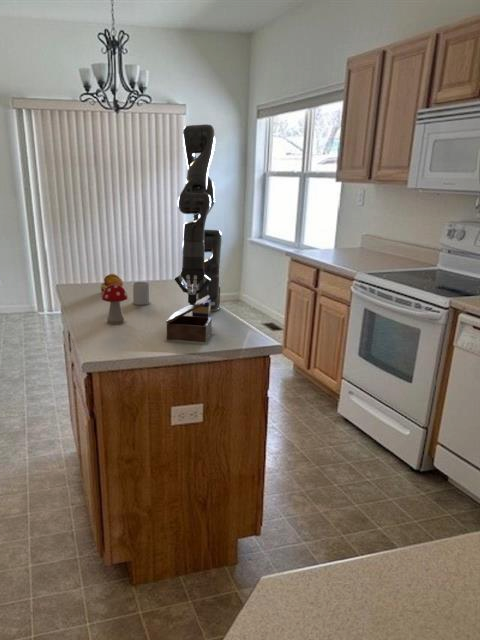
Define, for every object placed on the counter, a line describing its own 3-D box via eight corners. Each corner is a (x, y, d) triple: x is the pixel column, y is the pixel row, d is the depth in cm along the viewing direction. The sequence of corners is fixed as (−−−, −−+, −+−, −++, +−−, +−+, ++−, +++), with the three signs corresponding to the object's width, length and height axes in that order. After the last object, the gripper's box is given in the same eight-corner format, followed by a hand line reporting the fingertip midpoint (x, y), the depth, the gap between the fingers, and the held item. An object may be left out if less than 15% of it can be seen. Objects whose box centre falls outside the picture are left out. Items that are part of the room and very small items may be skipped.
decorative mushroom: (106, 326, 203) (104, 287, 197) (100, 320, 210) (98, 283, 205) (131, 324, 207) (130, 285, 201) (124, 318, 214) (123, 281, 208)
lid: (209, 296, 191) (208, 294, 191) (203, 305, 179) (202, 303, 179) (175, 314, 196) (174, 312, 196) (167, 323, 184) (166, 321, 184)
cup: (135, 305, 234) (134, 285, 231) (130, 300, 243) (130, 280, 240) (151, 304, 236) (150, 284, 233) (146, 299, 245) (146, 280, 242)
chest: (211, 334, 196) (211, 317, 194) (205, 344, 185) (205, 326, 182) (174, 331, 199) (174, 314, 196) (166, 341, 187) (166, 323, 184)
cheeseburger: (110, 289, 264) (113, 270, 259) (125, 297, 260) (129, 278, 255) (95, 292, 256) (98, 272, 252) (111, 300, 252) (114, 280, 247)
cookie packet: (209, 328, 204) (210, 299, 199) (207, 331, 199) (208, 302, 195) (194, 326, 205) (194, 298, 200) (191, 330, 200) (192, 301, 196)
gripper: (214, 253, 183) (212, 303, 189) (176, 251, 185) (176, 301, 191) (210, 256, 176) (209, 308, 182) (171, 254, 178) (171, 305, 184)
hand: (192, 304), depth 187 cm, fingers closed
